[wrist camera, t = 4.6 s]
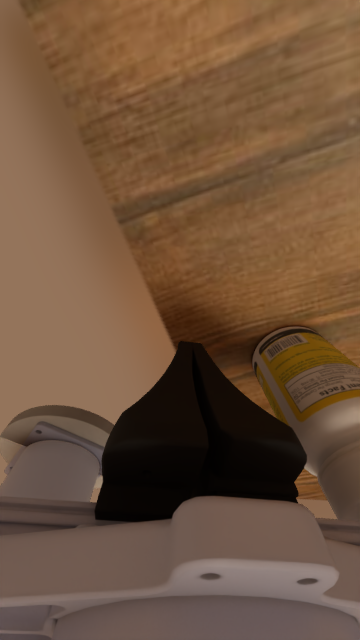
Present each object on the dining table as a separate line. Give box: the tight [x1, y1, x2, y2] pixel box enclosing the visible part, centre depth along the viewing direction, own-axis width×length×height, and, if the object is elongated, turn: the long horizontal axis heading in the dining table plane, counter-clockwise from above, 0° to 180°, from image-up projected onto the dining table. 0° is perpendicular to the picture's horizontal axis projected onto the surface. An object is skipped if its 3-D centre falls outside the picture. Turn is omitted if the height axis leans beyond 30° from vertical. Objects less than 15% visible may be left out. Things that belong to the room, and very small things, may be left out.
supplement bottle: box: [252, 327, 360, 521], centre depth 10 cm, size 5×5×8 cm
